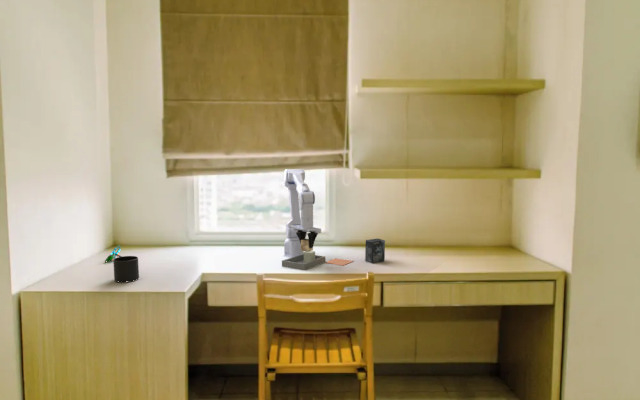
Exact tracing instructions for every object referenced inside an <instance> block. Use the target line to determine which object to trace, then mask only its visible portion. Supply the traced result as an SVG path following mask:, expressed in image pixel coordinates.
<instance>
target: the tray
mask: <svg viewBox="0 0 640 400" xmlns="http://www.w3.org/2000/svg"><path fill="white" fill-rule="evenodd" d="M325 262H326V256H323V255H316V254H315V260H313V261H310V262H307V263H304V253H303V254H300V255H297V256H294V257H288V258H287V259H283V260H281V267H283V268H290V269H296V270H302V271H306V270H308V269H311V268H314V267H317V266H318V265H321V264H323V263H324V264H325Z"/></svg>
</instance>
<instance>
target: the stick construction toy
mask: <svg viewBox="0 0 640 400" xmlns="http://www.w3.org/2000/svg"><path fill="white" fill-rule="evenodd" d="M121 248H122V247H121V246H120V245H117V247H114V249H113V250H112V251H111V253H110V254H109V255H108V256H107V258H106V259H105V260H104V263H107V262H108V261H109V260H111V261H113V260H114V259H115V258H118V257H123V255H122V256H121V255H120V252H121ZM106 261H107V262H106ZM109 262H110V261H109Z"/></svg>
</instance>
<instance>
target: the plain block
mask: <svg viewBox="0 0 640 400" xmlns="http://www.w3.org/2000/svg"><path fill="white" fill-rule="evenodd" d="M315 255H316V251H315V250H312V251H309V252H306V251H304V263H307V262H310V261H313V260H315Z"/></svg>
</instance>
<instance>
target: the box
mask: <svg viewBox="0 0 640 400" xmlns="http://www.w3.org/2000/svg"><path fill="white" fill-rule="evenodd" d="M385 248H386V240H385V239H382V238H371V239H370V238H369V239H365V256H364V257H365V258H364V261H365V262H367V263H370V264H375V263H380V262H381V263H382V262H385V261H386V260H385V255H386V253H385V252H386V250H385Z"/></svg>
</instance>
